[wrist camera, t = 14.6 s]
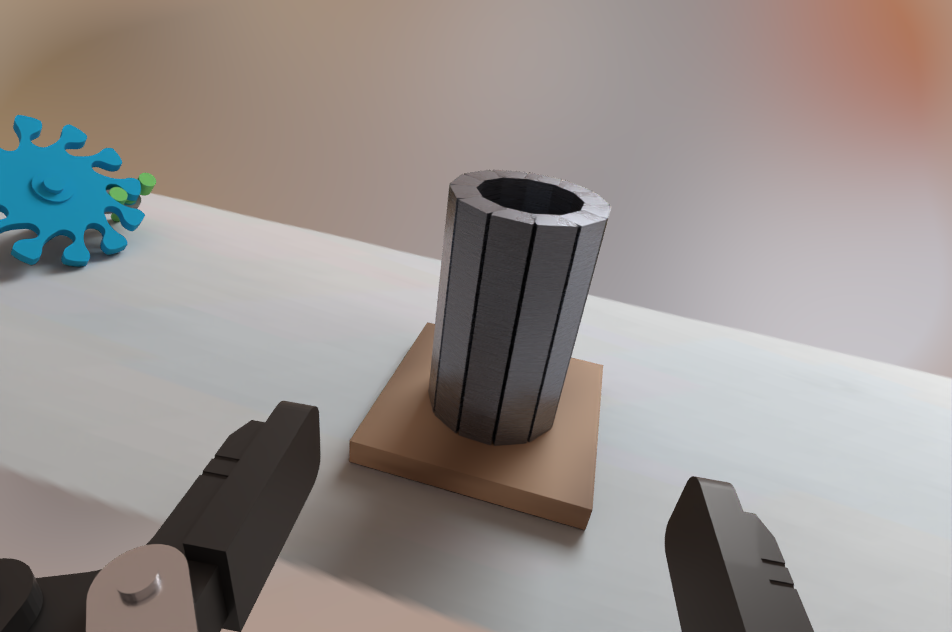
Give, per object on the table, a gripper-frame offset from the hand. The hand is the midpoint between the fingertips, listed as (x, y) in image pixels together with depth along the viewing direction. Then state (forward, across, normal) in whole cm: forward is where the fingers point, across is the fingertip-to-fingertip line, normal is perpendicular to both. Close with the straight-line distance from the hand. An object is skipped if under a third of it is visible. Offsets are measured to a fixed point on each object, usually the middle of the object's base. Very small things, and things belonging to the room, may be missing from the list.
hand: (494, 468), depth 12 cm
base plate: (+12, 0, +9) cm, 14 cm away
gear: (+21, +29, +9) cm, 37 cm away
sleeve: (+12, 0, +8) cm, 14 cm away
